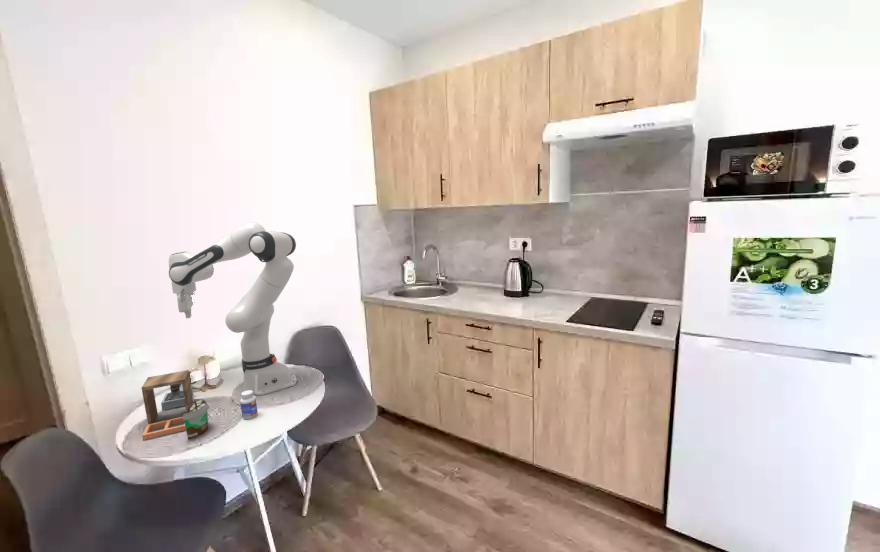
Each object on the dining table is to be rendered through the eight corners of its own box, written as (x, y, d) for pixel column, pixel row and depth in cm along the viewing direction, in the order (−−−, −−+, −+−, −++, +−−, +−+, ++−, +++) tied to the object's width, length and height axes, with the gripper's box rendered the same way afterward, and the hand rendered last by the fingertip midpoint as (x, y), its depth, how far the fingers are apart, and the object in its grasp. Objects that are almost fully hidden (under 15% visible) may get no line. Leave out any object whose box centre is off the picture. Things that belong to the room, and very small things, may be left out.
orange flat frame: (190, 419, 146) (190, 414, 146) (187, 430, 139) (186, 425, 139) (148, 429, 140) (147, 424, 140) (143, 440, 133) (142, 435, 133)
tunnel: (194, 407, 155) (188, 369, 153) (191, 419, 147) (184, 379, 144) (155, 416, 150) (148, 377, 147) (148, 428, 141) (141, 387, 138)
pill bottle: (255, 418, 145) (252, 395, 143) (240, 420, 144) (236, 396, 142) (259, 411, 150) (256, 388, 149) (245, 413, 149) (241, 390, 148)
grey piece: (198, 380, 181) (196, 370, 180) (190, 404, 158) (188, 392, 157) (173, 384, 177) (172, 374, 176) (162, 410, 154) (160, 398, 153)
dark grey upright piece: (178, 407, 156) (173, 380, 154) (165, 407, 156) (160, 380, 154) (189, 400, 161) (185, 374, 159) (176, 400, 162) (172, 373, 160)
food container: (206, 438, 133) (202, 411, 132) (186, 441, 132) (182, 415, 130) (216, 420, 145) (212, 395, 143) (197, 423, 143) (193, 398, 142)
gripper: (189, 291, 165) (193, 321, 167) (195, 283, 183) (199, 311, 186) (171, 292, 162) (176, 324, 165) (179, 285, 180) (184, 313, 183)
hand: (188, 317), depth 175 cm, fingers closed
